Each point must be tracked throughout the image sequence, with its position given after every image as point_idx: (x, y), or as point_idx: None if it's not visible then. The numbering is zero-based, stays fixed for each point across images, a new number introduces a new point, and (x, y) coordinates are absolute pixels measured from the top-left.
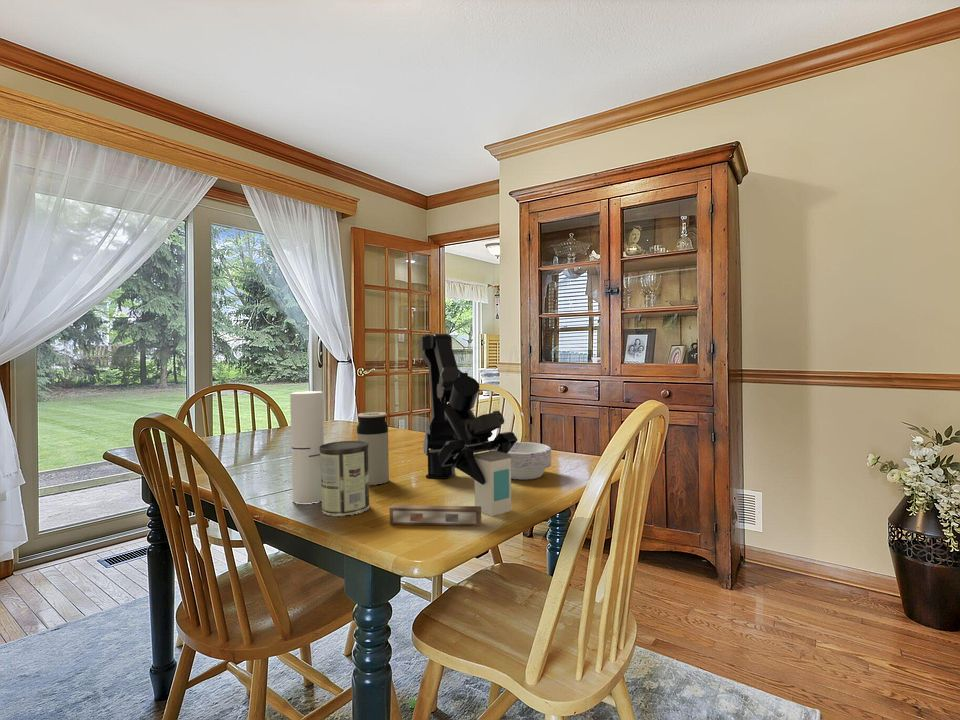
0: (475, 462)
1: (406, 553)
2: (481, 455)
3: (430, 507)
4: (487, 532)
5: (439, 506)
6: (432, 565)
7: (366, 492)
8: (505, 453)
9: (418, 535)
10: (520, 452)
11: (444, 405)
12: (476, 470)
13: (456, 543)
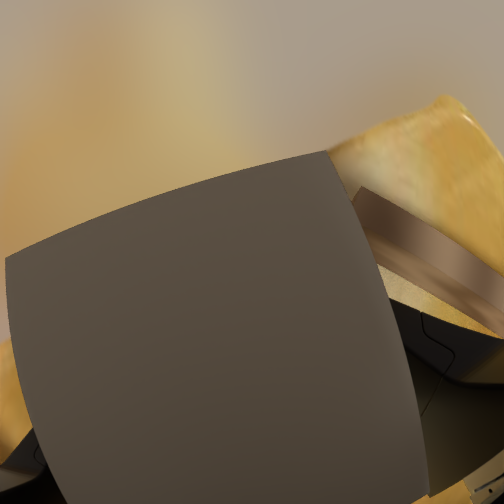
0: (431, 350)
1: (488, 152)
2: (399, 375)
3: (494, 284)
4: (337, 161)
5: (475, 282)
6: (446, 96)
7: None
8: (20, 332)
9: (485, 223)
10: None
11: None
12: (403, 304)
13: (416, 141)
